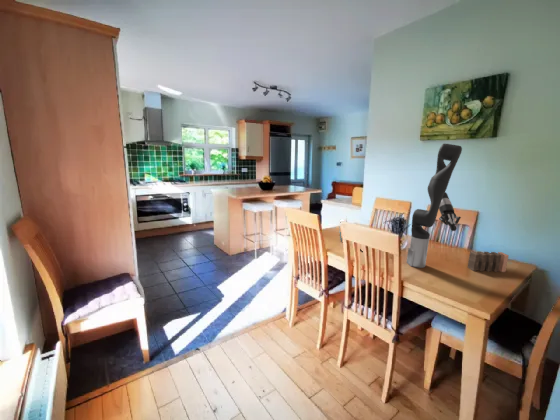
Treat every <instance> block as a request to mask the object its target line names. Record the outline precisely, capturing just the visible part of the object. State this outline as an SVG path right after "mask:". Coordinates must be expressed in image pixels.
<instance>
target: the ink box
mask: <svg viewBox="0 0 560 420" xmlns="http://www.w3.org/2000/svg"><path fill="white" fill-rule="evenodd" d="M341 221H346V222H348V218H347V216H346V215H345V219H340V220H339V224H340V223H341ZM339 233H340V229H339Z"/></svg>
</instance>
